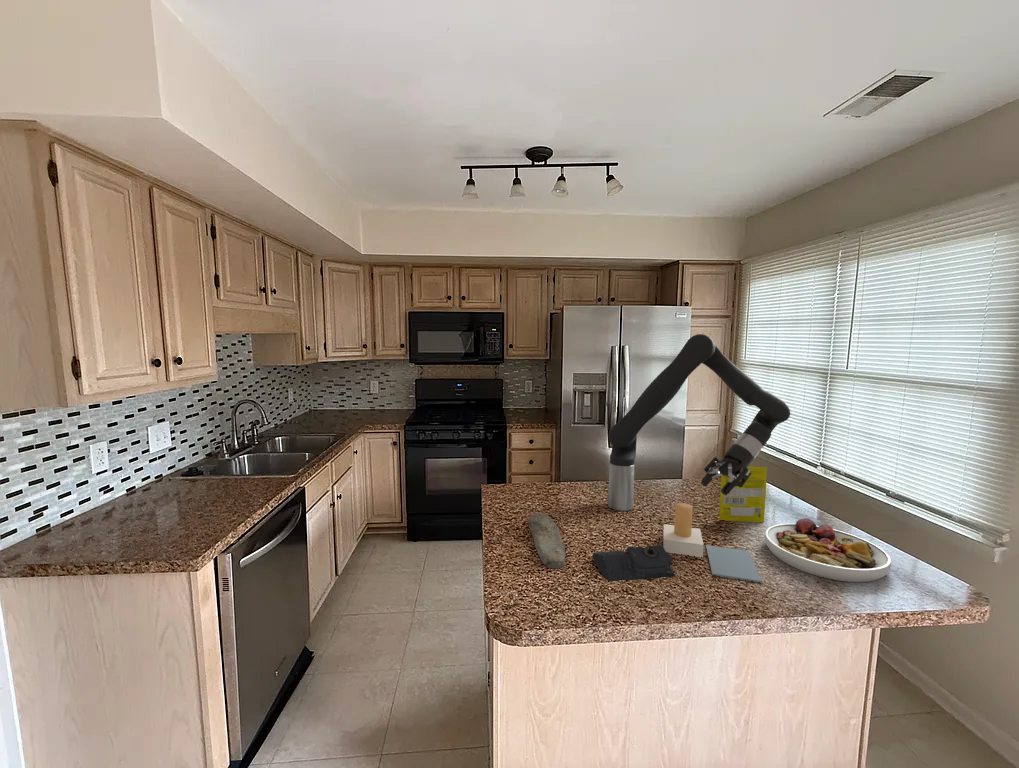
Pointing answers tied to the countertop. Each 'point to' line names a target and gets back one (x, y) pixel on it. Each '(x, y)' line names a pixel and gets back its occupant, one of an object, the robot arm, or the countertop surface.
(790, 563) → the bowl
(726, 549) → the mat
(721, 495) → the food package
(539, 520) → the long grey stone
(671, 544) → the white square block
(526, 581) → the countertop surface
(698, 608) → the countertop surface
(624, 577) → the black flat bumpy piece
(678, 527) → the tan rounded cylinder
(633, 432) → the robot arm
